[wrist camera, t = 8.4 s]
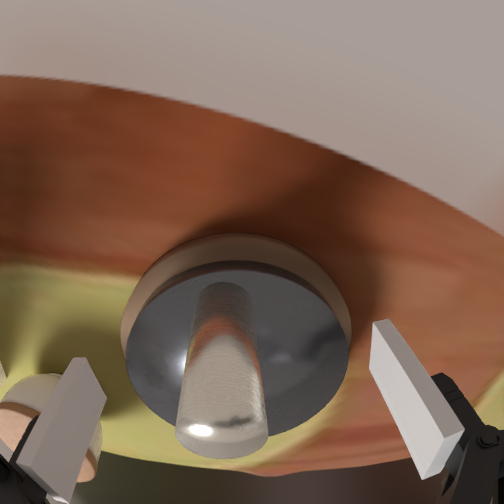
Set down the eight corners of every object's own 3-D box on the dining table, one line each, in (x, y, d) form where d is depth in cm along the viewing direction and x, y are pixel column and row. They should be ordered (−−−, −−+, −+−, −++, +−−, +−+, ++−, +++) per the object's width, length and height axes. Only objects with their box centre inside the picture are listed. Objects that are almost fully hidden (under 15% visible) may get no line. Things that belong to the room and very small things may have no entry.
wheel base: (333, 400, 27) (338, 414, 25) (154, 412, 27) (151, 427, 25) (351, 224, 21) (362, 233, 19) (105, 242, 21) (94, 252, 19)
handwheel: (335, 408, 25) (370, 514, 14) (164, 426, 24) (149, 534, 14) (342, 245, 19) (436, 356, 9) (105, 275, 19) (21, 394, 9)
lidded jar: (105, 367, 25) (71, 449, 16) (121, 436, 28) (103, 506, 19) (12, 343, 23) (-35, 405, 15) (38, 414, 27) (10, 472, 18)
